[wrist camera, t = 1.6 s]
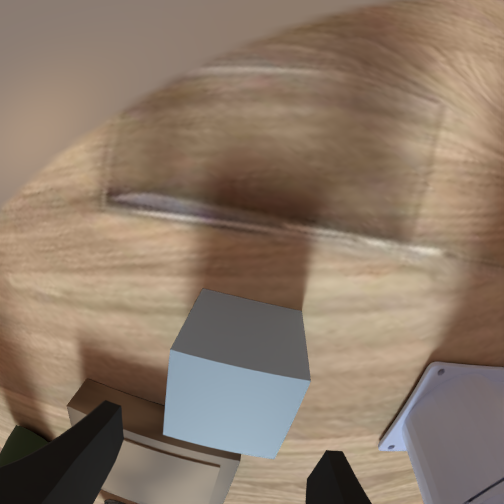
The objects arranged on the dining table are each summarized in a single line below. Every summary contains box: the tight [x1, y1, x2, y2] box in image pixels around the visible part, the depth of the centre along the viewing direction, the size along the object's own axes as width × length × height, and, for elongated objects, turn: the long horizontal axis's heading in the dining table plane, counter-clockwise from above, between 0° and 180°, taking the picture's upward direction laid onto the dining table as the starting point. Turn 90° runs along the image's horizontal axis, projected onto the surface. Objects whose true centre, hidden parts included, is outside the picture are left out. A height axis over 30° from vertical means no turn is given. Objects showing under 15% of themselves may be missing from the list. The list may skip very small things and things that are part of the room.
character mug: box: [0, 425, 48, 467], centre depth 16 cm, size 11×7×13 cm, turn 14°
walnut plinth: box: [67, 379, 241, 504], centre depth 19 cm, size 11×11×3 cm
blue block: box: [163, 288, 311, 459], centre depth 14 cm, size 5×5×6 cm
